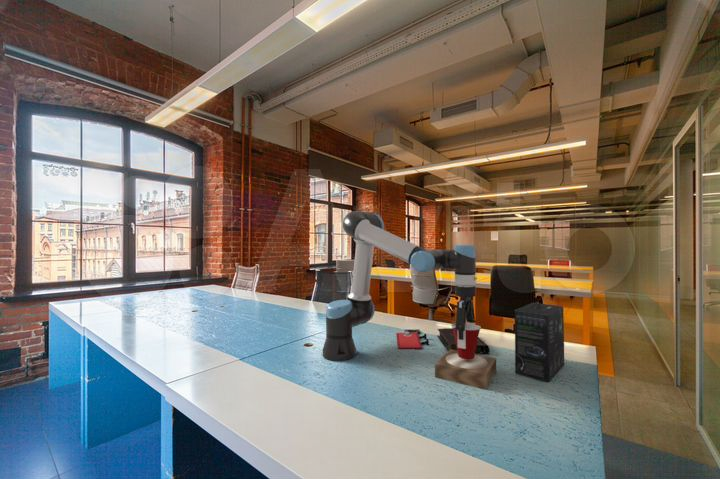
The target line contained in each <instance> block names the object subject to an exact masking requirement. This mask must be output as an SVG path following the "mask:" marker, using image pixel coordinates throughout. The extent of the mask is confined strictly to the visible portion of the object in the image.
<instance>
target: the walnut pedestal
mask: <svg viewBox="0 0 720 479" xmlns="http://www.w3.org/2000/svg"><path fill="white" fill-rule="evenodd" d="M496 373H497V358H496V357H494V356H493V357H492V356H487V355H484V354H479V353H475V356H474V358H473V359H462V358H460V357H459V356H458V352H457V350H452V349H450V350H449V351H448V352H447V351H446V352H445V353H444V355H442V356H441V357H440V358H439V359H438V360H437V361H436V362H434V378H436V379H441V380H445V381H450V382H453V383H457V384H461V385H466V386H469V387H473V388H478V389H481V390H488V387H489V386H490V384H491V382H492V380H493V379H494V376H495V375H496Z"/></svg>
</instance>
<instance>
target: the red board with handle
mask: <svg viewBox="0 0 720 479" xmlns="http://www.w3.org/2000/svg"><path fill="white" fill-rule="evenodd" d="M421 333H422V332H421V330H420V329H404V332H396V342H397V343H396V344H397V349H398V350H413V349H414V350H417V351H418V350H419V351H421V350H423V345H426V346H430V340H429V339H427V334H426V333H423V335H421V336H419V334H421ZM421 339H424V340H425V341H424V340H423V341H422V342H421Z"/></svg>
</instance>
